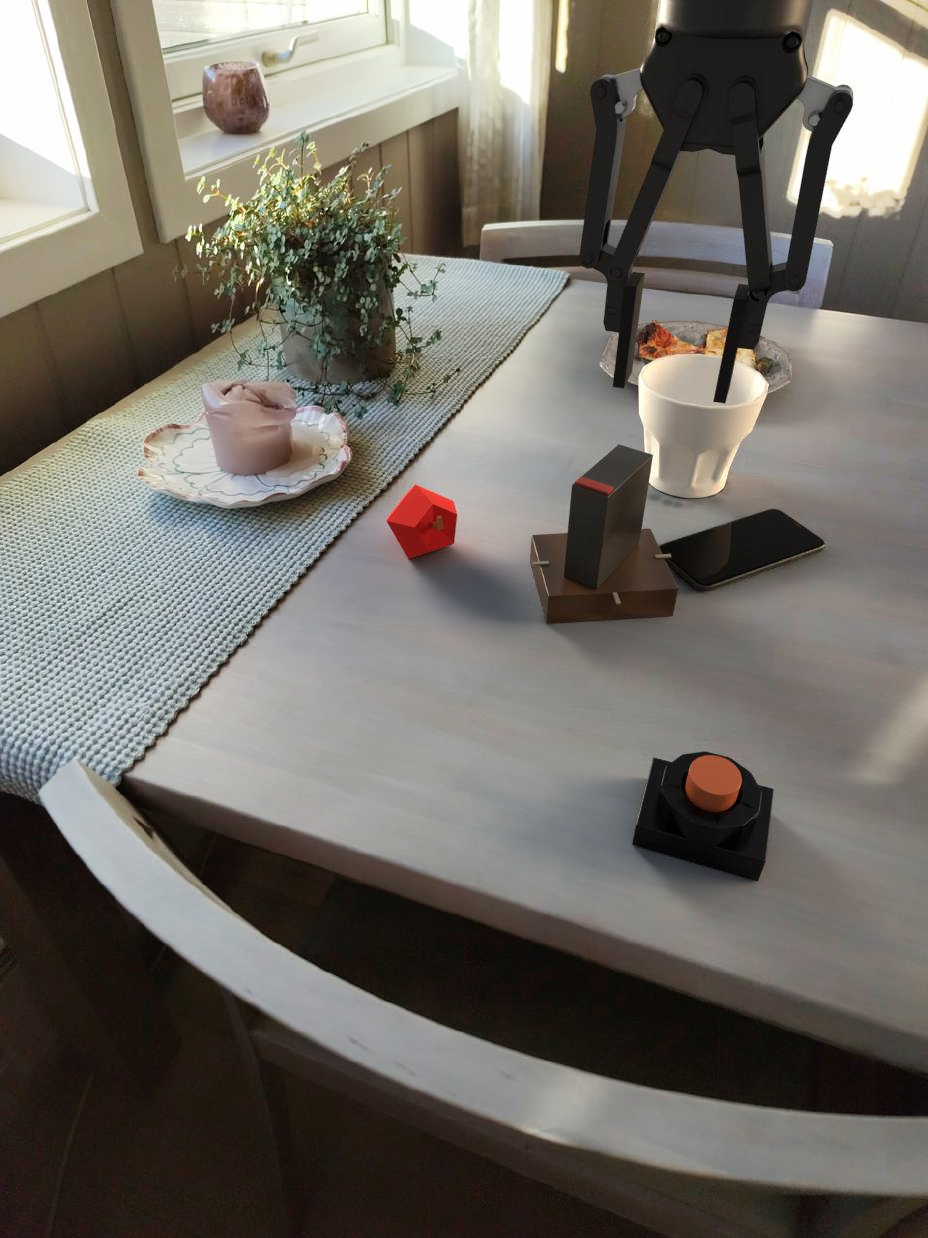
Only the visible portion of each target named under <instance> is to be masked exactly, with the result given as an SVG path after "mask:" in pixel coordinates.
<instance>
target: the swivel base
mask: <svg viewBox="0 0 928 1238" xmlns="http://www.w3.org/2000/svg"><path fill="white" fill-rule="evenodd" d="M567 533H568V532H559V533H544V534H542V533H541V534H531V539H530V556H529V563H530V567H531V571H532V575H533V579H534V582H535V586H536V590H537V595H538V597H539V601H540V605H541V609H542V612H543V617H544V620H545V623H546V625H550V624H564V623H565V624H566V623H580V622H581V623H582V622H597V621H613V620H627V619H629V620H630V619H643V618H658V617H659V618H661V617H672V616H674V612H675V607H676V602H677V598H678V593H679V586H678V585H677V583H676V580H675V578H674V576H673V574H672V571H671V569H670V566H669V565H668V564H667V563H666V561H665V559H664V558H671V554H662V552H661V550H660V548H659V543H658V542H657V539H656V537H655V535H654V533H653V531H652V529H651V528H650V527H649V528H642V529H641V535H640V542H639V545H638V546H637V547H636V548H635V549H634V550H633V551H632V552H631V553H630V554H629V555H628V557H627V558H626V559H625V560H624V561H623V562H622V563H621V564H620V565H619V566H618V567H617V568H616V569H615V570H614V571H613V572H612V574H611V575H610V576H609V577H608V578H607V579H606V580H605V581H604V582H603V583H602V584H601V585H600V586H599V587H598V588H597V589H594V588H592V587H589V586H587V585H584V584H582V583H579V582H577V581H574V580H572V579H569V578H567V577H564V566H565V555H566V544H567Z"/></svg>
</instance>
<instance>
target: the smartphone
mask: <svg viewBox="0 0 928 1238" xmlns="http://www.w3.org/2000/svg"><path fill="white" fill-rule="evenodd" d="M658 546H659V548H660V550H661V552H662V554H671V558H664V559H665V561H666V563H667V565H668V567H669V568H670V567H671V569H673V570H674V571H675V572H676V573H677V574H678V575H680V576H681V577H682V578H683V579H684V580H685V581H686V582H688V583H689V584H690V585H691V586H692V587H693V588H695V589H696V590H698V591H700V592H710V591H713V590H716V589H718V588H722V587H724V586H727V585H730V584H733V583H736V582H739V581H741V580H744V579H747V578H750V577H753V576H755V575H758V574H761V573H763V572H766V571H767V572H768V571H769V570H773V569H775V568H777V567H780V566H783V565H786V564H788V563H793V562H794V561H798V560H801V559H803V558H805V557H806V558H807V557H809V556H812V555H814V554H817V553H820V552H822V551H823V550H825V548H826V546H827V544H826V541H825V540H824V539H823V538H822V537H821V536H819V535H817V534H816V533H814V532H813V531H812V530H810V529H809V528H807V527H806V526H804V525H803V524H802V523H800V522H799V521H797V520H796V519H794V518H793V517H791V516H790V515H789V514H787V513H786V512H785V511H782V510H781V509H779V508H769V509H765V510H762V511H759V512H756V513H753V514H750V515H747V516H743V517H741V518H737V519H734V520H731V521H728V522H725V523H722V524H719V525H715V526H713V527H710V528H707V529H703V530H701V531H697V532H695V533H691V534H688V535H685V536H682V537H679V538H675V539H673V540H669V541H667V542H663V543H660V545H659V544H658Z"/></svg>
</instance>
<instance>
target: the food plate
mask: <svg viewBox="0 0 928 1238" xmlns="http://www.w3.org/2000/svg"><path fill="white" fill-rule="evenodd" d="M651 321H652V322H644V323H638V330H637V337H636V345H635V352H634V360H633V368H632V373H631V375H630V377H629V379H628V381H627V383H630V384H632V385H635V386H637V387H639V375H640V373H641V371H642V369H643V367H644V366H645V365H647V364H649V363H650V362H652V361H654V360H656V359H658V358H662V357H667V356H672V355H678V354H703V355H711V356H718V357H722V355H723V350H724V345H725V340H726V335H727V330H728V325H723V324H717V323H711V322H705V321H701V320H700V321H698V320H696V321H695V320H668V321H658V320H656V319H655V320H654V319H652V320H651ZM618 336H619V333H618V332H616V333H614V334H612V335H610V337H609V338H608V341H607V343H606V346H605V348H604V351H603V353H602V355H601V360H600V361H599V366H600V368H601V369H602V370H603V371H604V372H605V373H606V374H607V375H608V376H610V377H611V378H612V379H614V370H615V362H616V353H617V345H618ZM735 361H737V362H741V363H744V364H746V365H748V366H749V367H751V368H753V369H754V370H756V371H758V372H760V373H761V375H762V376H763V377H764V379H765V380H766V381H767V382H768V384H769V386H768V391H767V395H768V394H771V393H772V392H773V393H774V392H776V391H778V390H780V389H782V388H784V387H785V386H787V385H789V384H790V383H791V382H792V378H793V365H792V355H791V353H790V352H789V351H788V349H786V347H784V346H782V345H780V344H779V343H777V342H776V341H774V340H771V339H768V338H766V337H765V336H762V335H760V338H759V342H758V344H757V345H756V347H755V348H754V350H750V349H742V348H738V351H737V355H736V360H735Z"/></svg>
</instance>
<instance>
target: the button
mask: <svg viewBox="0 0 928 1238" xmlns="http://www.w3.org/2000/svg"><path fill="white" fill-rule="evenodd" d="M741 782H742V777H741V774H740V771H739V770H738V768H737V767H736V766H735V765H734V764H733V763H732V762H730V761H729V760H727V759H725V758H722V757H719V756H713V755H707V756H702V757H699V758H697V759H696V760H694V761H693V762H692V764H691V765H690V768H689V772H688V776H687V780H686V784H685V792H686V795H687V797H688V799H689V800H690V801H691V802H692V803H693V804H694V805H695V806H697V807H698V808H700V809H702V810H705V811H709V812H723V811H726V810H728V809H730V808H731V807H732V806H733V805H734V804H735V801H736V798H737V795H738V792H739V789H740V786H741Z"/></svg>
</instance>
